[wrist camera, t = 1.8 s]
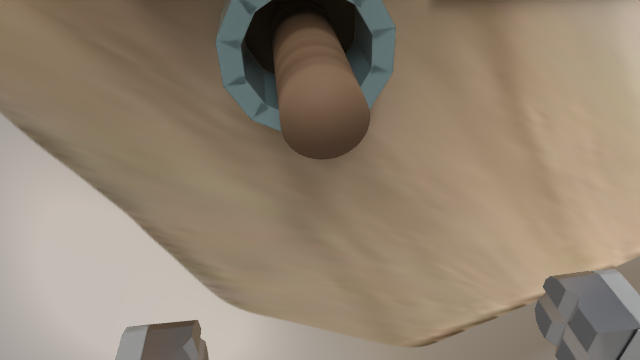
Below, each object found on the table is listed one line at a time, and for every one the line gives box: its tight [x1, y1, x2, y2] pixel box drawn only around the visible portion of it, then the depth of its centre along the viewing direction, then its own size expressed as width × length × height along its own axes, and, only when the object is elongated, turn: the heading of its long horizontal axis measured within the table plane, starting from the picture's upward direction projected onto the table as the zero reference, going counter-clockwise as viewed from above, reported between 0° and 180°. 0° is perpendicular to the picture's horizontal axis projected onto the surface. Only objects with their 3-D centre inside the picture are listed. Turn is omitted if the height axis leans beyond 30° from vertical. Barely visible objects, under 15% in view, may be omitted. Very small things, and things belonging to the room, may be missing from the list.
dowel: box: [271, 0, 370, 159], centre depth 23 cm, size 4×4×12 cm
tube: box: [216, 0, 396, 132], centre depth 25 cm, size 9×9×5 cm
